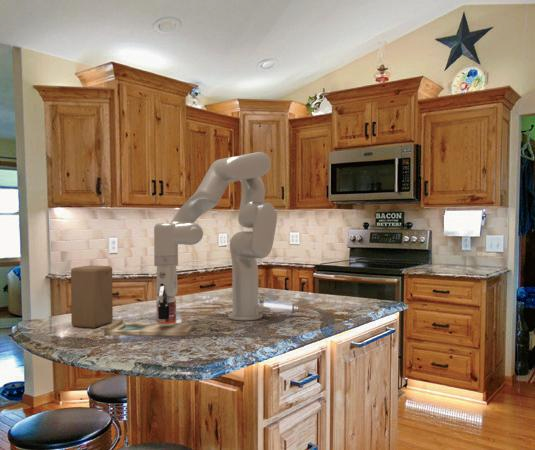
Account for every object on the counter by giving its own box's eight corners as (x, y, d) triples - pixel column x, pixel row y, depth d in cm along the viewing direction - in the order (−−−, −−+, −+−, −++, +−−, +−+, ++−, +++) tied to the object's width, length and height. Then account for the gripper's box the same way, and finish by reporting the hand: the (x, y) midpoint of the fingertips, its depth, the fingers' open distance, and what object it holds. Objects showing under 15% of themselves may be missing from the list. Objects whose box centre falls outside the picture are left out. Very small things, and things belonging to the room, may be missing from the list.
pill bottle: (179, 324, 147) (178, 289, 147) (160, 327, 143) (160, 291, 143) (171, 321, 152) (171, 287, 152) (153, 323, 149) (153, 289, 149)
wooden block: (113, 322, 161) (113, 265, 161) (94, 328, 151) (93, 268, 151) (90, 320, 164) (90, 265, 164) (70, 326, 154) (69, 267, 154)
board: (194, 326, 153) (194, 319, 153) (187, 335, 141) (187, 327, 141) (118, 326, 154) (117, 319, 154) (104, 335, 142) (104, 327, 142)
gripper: (171, 263, 139) (172, 322, 139) (183, 259, 156) (183, 311, 156) (147, 263, 139) (147, 322, 139) (161, 259, 156) (161, 311, 156)
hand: (166, 316), depth 148 cm, fingers closed on pill bottle, 6 cm apart
